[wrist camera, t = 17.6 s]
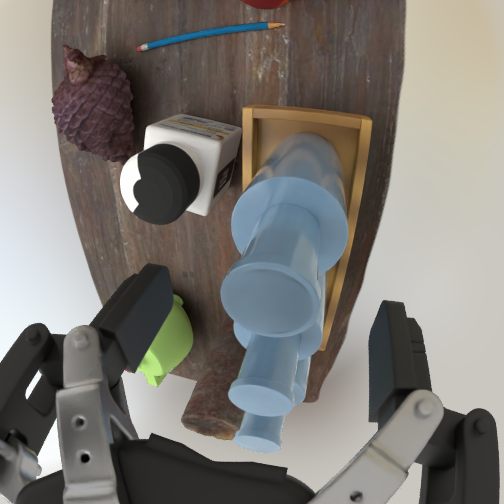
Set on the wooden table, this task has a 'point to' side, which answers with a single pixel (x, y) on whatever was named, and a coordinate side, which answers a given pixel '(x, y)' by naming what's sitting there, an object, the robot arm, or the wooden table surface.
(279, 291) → the bottle
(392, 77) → the wooden table surface
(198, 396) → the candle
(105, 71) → the pine cone
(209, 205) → the container
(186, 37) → the pencil
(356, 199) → the tray
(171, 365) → the teapot
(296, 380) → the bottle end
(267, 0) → the paper cup
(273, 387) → the bottle mid
